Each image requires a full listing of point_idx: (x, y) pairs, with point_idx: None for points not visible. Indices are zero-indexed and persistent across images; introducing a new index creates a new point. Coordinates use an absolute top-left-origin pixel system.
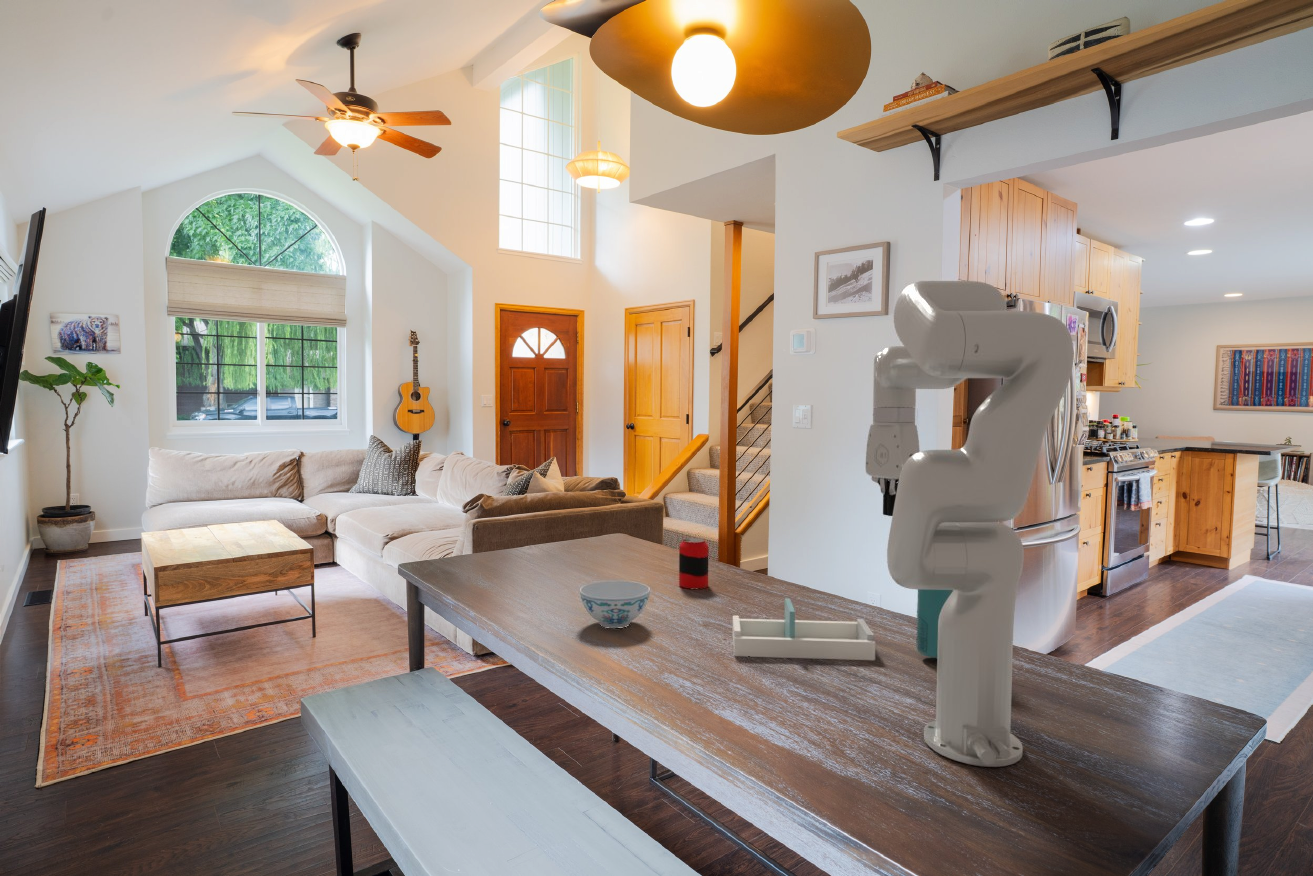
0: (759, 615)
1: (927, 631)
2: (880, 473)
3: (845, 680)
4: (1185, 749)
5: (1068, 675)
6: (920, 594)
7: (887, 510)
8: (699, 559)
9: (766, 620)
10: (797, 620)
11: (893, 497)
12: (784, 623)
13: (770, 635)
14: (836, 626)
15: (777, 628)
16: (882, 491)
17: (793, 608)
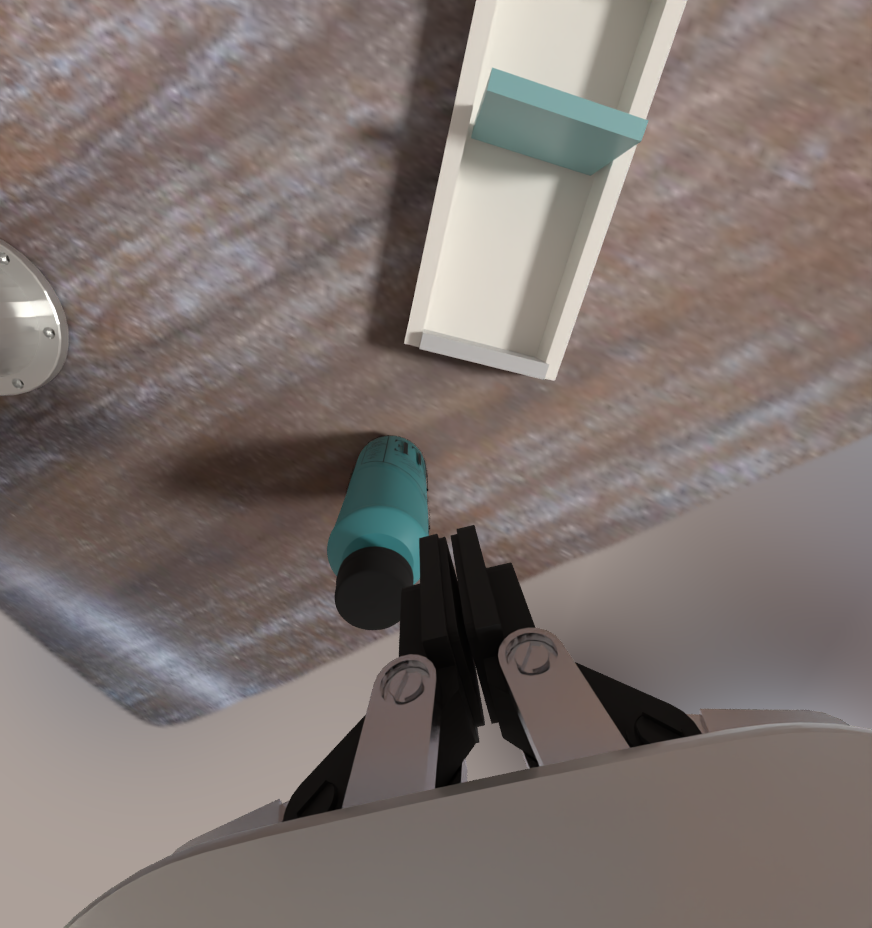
0: (804, 164)
1: (364, 459)
2: (497, 840)
3: (293, 209)
4: (42, 605)
5: (303, 624)
6: (378, 487)
7: (430, 550)
8: None
9: (645, 88)
10: (614, 200)
11: (413, 654)
12: None
13: None
14: (560, 309)
15: None
16: (547, 647)
17: (523, 100)
